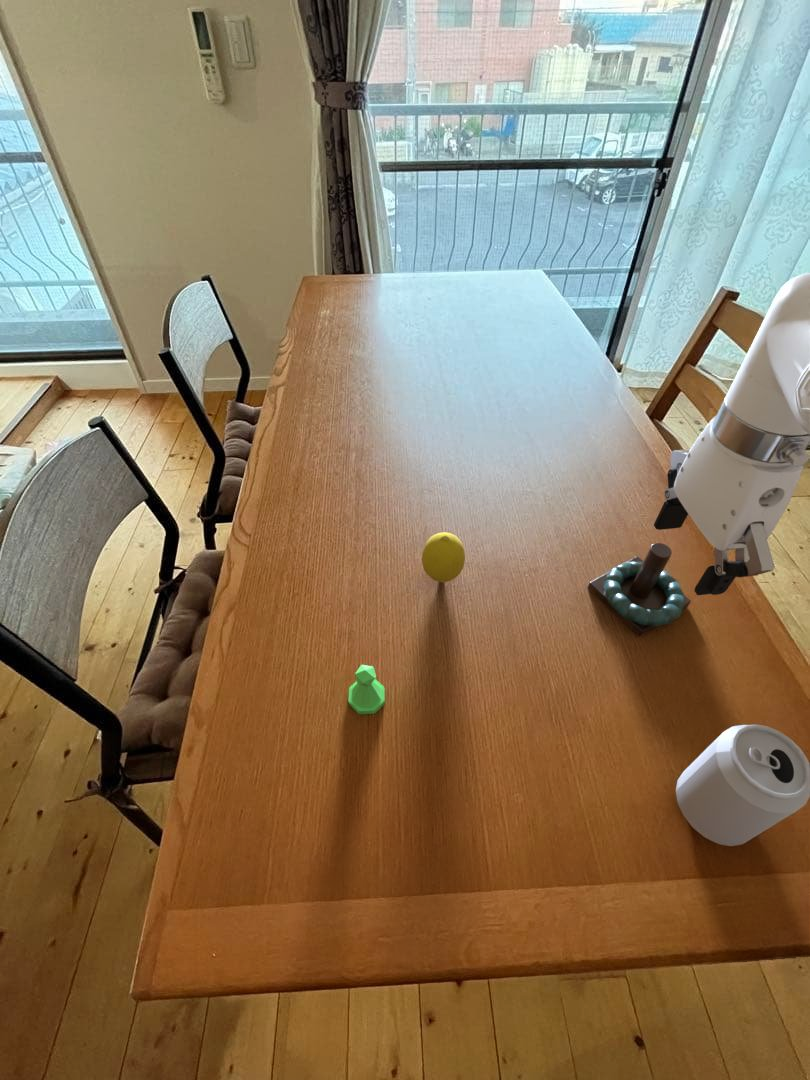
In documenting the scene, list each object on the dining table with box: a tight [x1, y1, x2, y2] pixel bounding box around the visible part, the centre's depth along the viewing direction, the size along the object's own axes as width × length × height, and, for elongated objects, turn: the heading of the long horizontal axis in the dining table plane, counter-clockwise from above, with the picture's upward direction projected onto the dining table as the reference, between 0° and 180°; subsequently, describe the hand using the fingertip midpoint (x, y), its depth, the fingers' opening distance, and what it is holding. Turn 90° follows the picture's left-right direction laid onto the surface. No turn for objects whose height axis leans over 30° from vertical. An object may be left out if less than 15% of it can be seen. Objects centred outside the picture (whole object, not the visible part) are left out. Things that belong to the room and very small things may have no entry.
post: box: [587, 542, 692, 638], centre depth 69 cm, size 9×9×9 cm
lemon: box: [421, 531, 466, 583], centre depth 71 cm, size 6×6×8 cm
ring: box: [604, 561, 686, 627], centre depth 70 cm, size 10×10×2 cm
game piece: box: [348, 664, 386, 715], centre depth 60 cm, size 4×4×6 cm
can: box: [675, 723, 810, 847], centre depth 50 cm, size 8×8×12 cm
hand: (686, 557), depth 61 cm, fingers open, 9 cm apart
